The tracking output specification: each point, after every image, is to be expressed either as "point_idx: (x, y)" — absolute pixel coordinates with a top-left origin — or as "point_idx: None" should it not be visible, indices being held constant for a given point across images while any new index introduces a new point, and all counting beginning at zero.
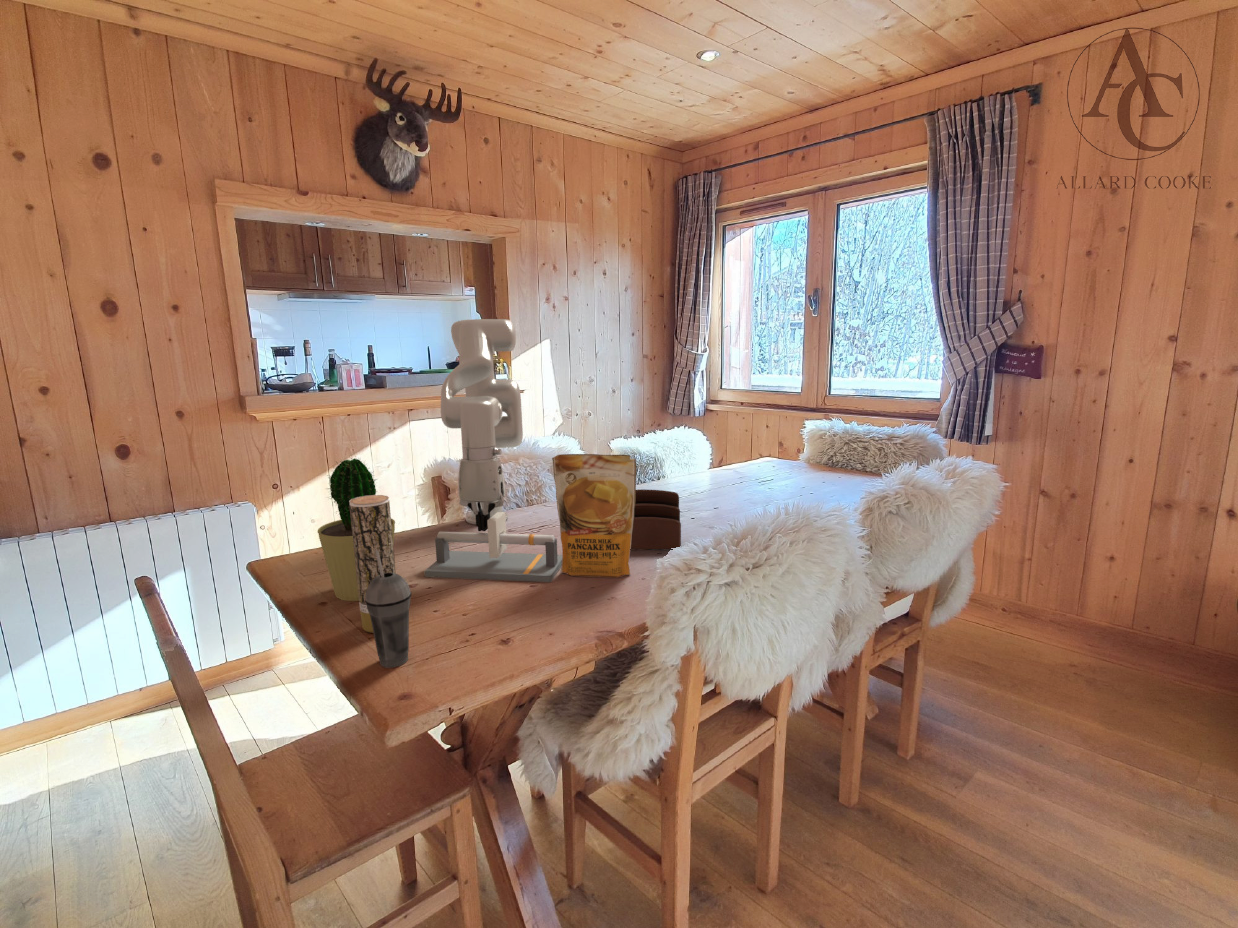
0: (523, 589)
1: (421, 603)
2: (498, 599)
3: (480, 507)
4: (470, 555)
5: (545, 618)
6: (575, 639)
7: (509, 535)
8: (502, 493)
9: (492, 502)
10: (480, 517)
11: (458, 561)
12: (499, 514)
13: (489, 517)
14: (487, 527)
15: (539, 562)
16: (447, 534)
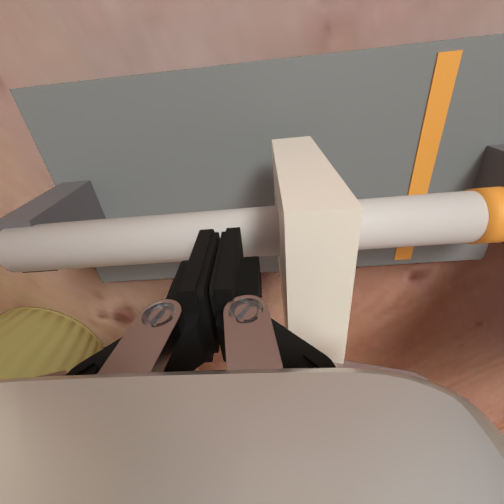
0: (395, 295)
1: (206, 368)
2: (347, 340)
3: (170, 342)
4: (141, 132)
5: (451, 380)
6: (496, 415)
7: (370, 245)
8: (455, 425)
9: (282, 367)
10: (219, 342)
11: (142, 202)
12: (326, 270)
13: (259, 295)
14: (242, 252)
15: (444, 155)
16: (57, 268)
